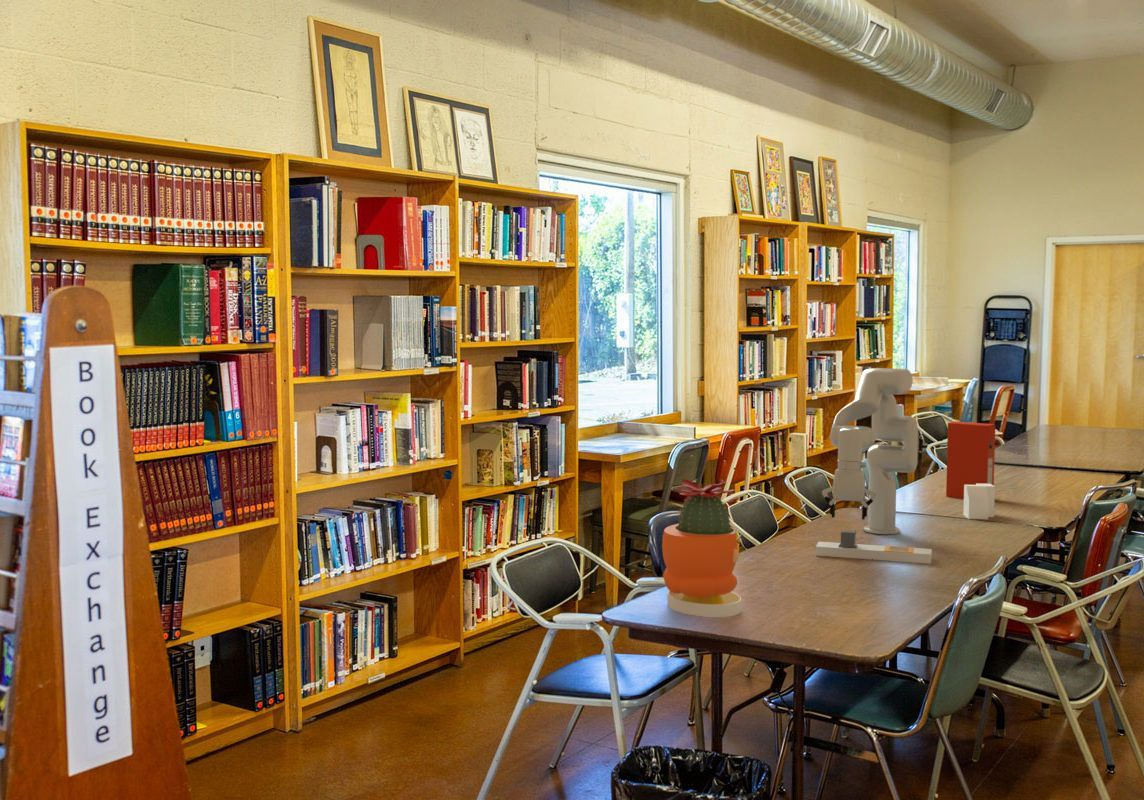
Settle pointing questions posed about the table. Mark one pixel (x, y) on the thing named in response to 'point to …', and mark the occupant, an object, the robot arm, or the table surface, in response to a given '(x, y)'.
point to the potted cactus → (701, 555)
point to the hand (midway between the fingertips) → (848, 517)
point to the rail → (875, 552)
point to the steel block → (848, 539)
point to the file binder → (969, 456)
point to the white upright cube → (979, 501)
